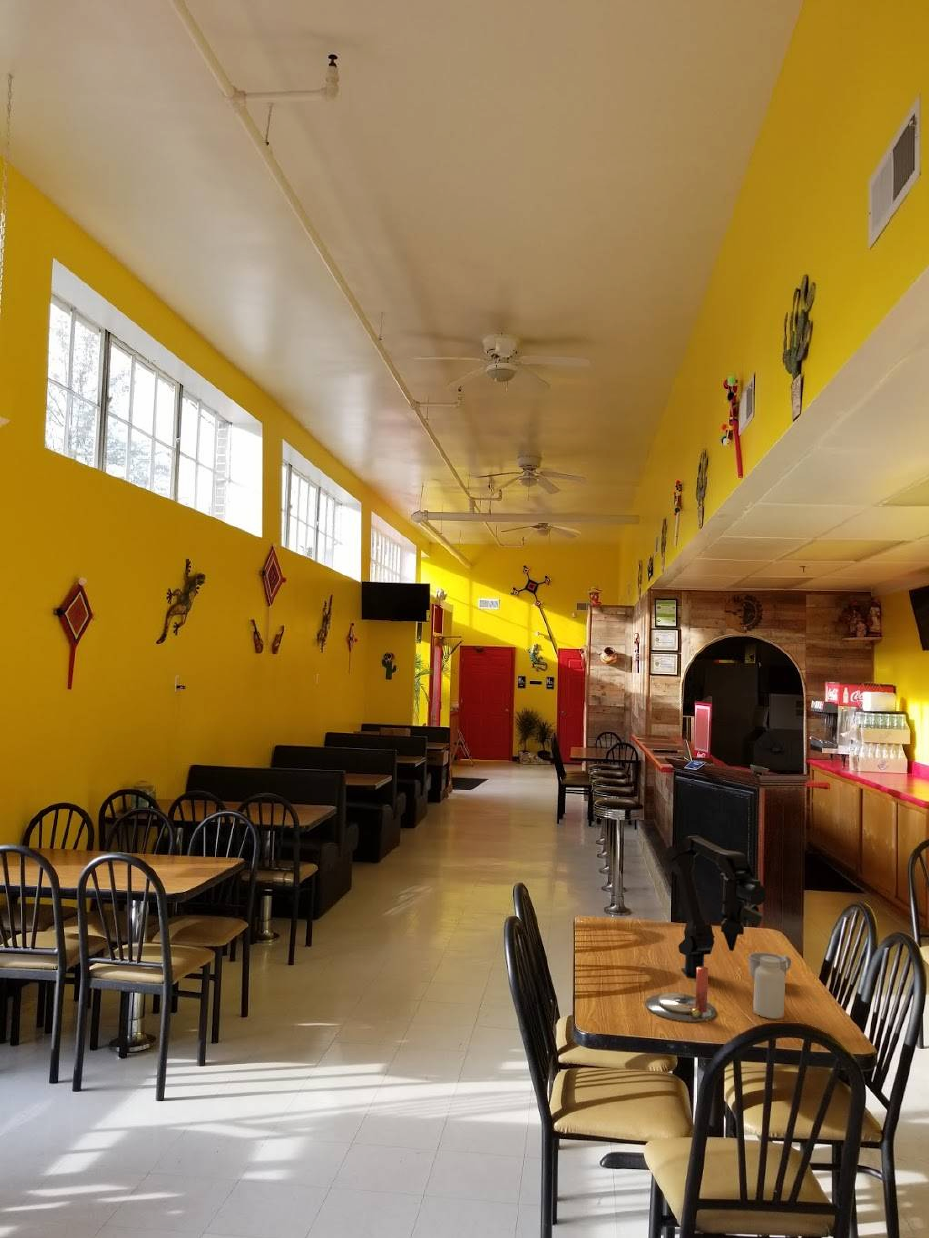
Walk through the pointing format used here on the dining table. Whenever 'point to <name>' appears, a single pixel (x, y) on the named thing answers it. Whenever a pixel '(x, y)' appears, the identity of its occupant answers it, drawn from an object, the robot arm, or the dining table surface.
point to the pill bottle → (769, 988)
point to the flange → (689, 997)
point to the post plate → (658, 1010)
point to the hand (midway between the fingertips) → (731, 950)
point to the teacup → (756, 956)
